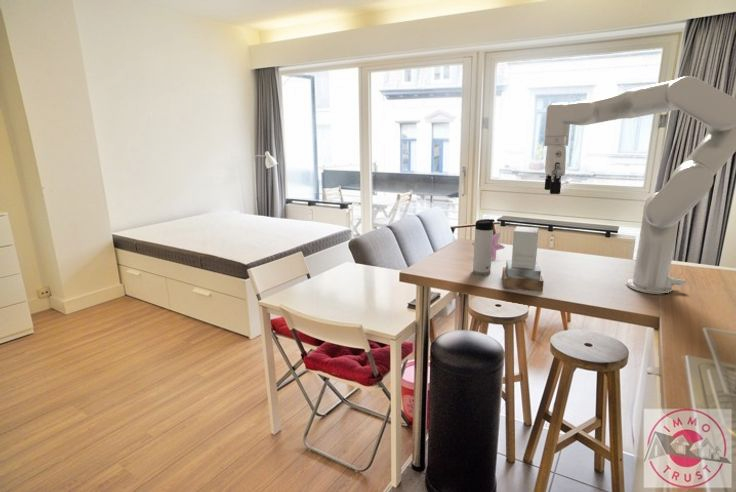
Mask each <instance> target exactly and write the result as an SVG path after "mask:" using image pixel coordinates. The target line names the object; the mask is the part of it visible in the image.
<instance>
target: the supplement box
mask: <svg viewBox="0 0 736 492" xmlns="http://www.w3.org/2000/svg"><path fill="white" fill-rule="evenodd" d="M539 229H540V228H539V227H531V226H518V225H517V226H516V227H515V228H514V230H513V235H512V236H513V238H512V252H511V253H512V254H511V255H512V256H511V260H512V267H517V268H526V269H534V268H535V264H536V262H537V255H538V254H537V253H538V242H539Z"/></svg>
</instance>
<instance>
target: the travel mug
mask: <svg viewBox="0 0 736 492" xmlns="http://www.w3.org/2000/svg"><path fill="white" fill-rule="evenodd" d="M495 221H496V220H495V219H494V218H492V219H491V218H490V219H489V218H484V219H478V220H476V221H475V228H474V245H473V259H472V261H473V262H472V263H473V264H472V265H473V266H472V273H474V274H475V275H478V276H488V275H490V274H491V267H492V259H491V255H492V239H493V235H494V223H496V222H495Z"/></svg>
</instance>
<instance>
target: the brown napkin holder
mask: <svg viewBox="0 0 736 492" xmlns="http://www.w3.org/2000/svg"><path fill="white" fill-rule="evenodd" d="M505 263H506V264H505V267H504V266H503V267H502V275H501V276H502V283H503V284H502V285H503V288H504V289H505V290H518V289H521V291H535V292H536V291H537V292H543V290H544V278H543V276H542V271H541V269H540V266H539V263H538V262H537V261H536V264H535V268H534V269H526V268H517V267H512V259H511V260H510V259H508V260H506V262H505Z"/></svg>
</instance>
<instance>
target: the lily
mask: <svg viewBox="0 0 736 492" xmlns="http://www.w3.org/2000/svg"><path fill="white" fill-rule="evenodd" d="M500 236H501V232H496V233H493V239H492V255H491V260H493V261H496V259H497V251H499V250H504V249H505V248H506V247H505V246H504V245H503V244H501V243H499V240H500ZM471 245H472V246H474V242H471Z"/></svg>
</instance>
